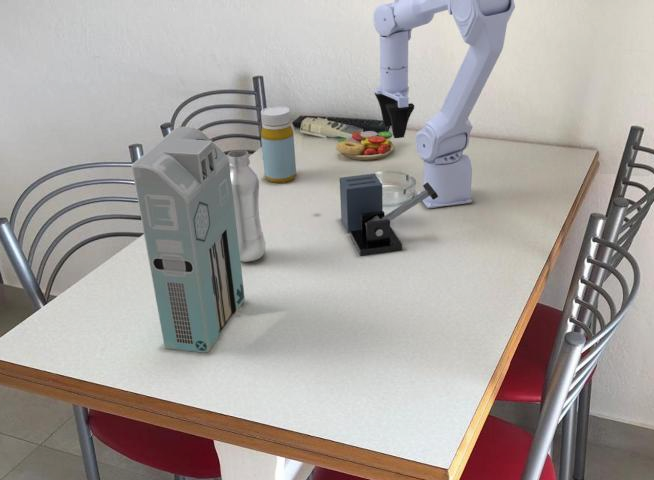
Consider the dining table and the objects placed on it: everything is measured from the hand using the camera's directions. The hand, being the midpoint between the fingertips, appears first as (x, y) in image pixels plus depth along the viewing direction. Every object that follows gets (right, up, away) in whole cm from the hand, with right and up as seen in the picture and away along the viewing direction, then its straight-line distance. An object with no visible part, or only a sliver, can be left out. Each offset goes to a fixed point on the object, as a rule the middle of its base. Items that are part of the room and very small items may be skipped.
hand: (394, 131), depth 184 cm
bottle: (-25, -8, +9) cm, 27 cm away
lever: (0, -22, -22) cm, 31 cm away
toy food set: (-5, +1, +20) cm, 21 cm away
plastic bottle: (-28, -30, -23) cm, 47 cm away
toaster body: (-7, -22, -13) cm, 27 cm away
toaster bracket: (-5, -27, -20) cm, 34 cm away
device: (-34, -44, -42) cm, 70 cm away
